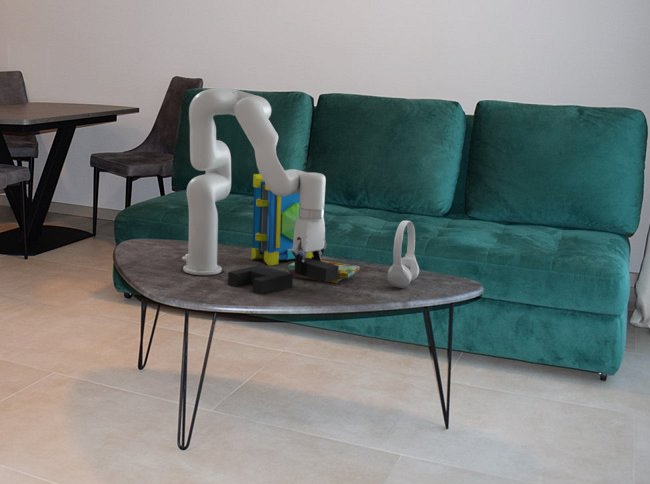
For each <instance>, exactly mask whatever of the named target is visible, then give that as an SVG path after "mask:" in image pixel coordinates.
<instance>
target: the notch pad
mask: <svg viewBox="0 0 650 484" xmlns="http://www.w3.org/2000/svg"><path fill="white" fill-rule="evenodd" d="M227 276H228V277H227V285H229V286H233V287H235V288H237V287H240V286H244V285H249V284H251V285H252V292H253V293H255V294H259V295H263V294H268V293H271V292H276V291H279V290H280V291H281V290H283V289H288V288H292V287H293V285H294V277H293V274H292V273H290V272H289V271H284V270H280V269H278V268H277V269H276V268H273V267H269V266H264V265H262V264H258V265H252V266H248V267H244V268H239V269H234V270H230V271H228V273H227Z"/></svg>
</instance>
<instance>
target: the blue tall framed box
mask: <svg viewBox="0 0 650 484" xmlns="http://www.w3.org/2000/svg"><path fill="white" fill-rule="evenodd" d="M252 175H253V177H252V188H253V208H252V209H253V211H252V212H253V213H252V224H253V225H252V247H251V254H250V255H251V257H250V260H251V261H253V260H262V259H263V262H265V263H266V264H267V267H269V266H276V265H279V263H280V262H279V261H282V260H285V261H288V260H289V261H290V260H294V259H296V258H295V257H294V255H293V253H292V252H291V250H292V248H293V238H294V230H295V225H296V221H297V218H299V198H300V193H296V194H291V195H288V196H284V197H280V196H277V195H275V194H273V193H272V192H271V191H270V189H269V188H268V187H267V185H266V183H265V182H264V180H263V178H262V176H261V174H260V173H253V174H252ZM302 250H303V249H302ZM302 250H301V251H302ZM302 255H303V253H301V256H302ZM312 257H313V254H312V252H308V253H307V255H306V258H312Z"/></svg>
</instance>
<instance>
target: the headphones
mask: <svg viewBox="0 0 650 484" xmlns="http://www.w3.org/2000/svg"><path fill="white" fill-rule="evenodd" d="M405 229H406V230H407V246H406V253H405V254H404V256H403V257H402V247H403V240H404V239H403V238H404V233H405ZM415 248H416V230H415V226H414V223H413V222H412V221H411V220H402V221H401V222H400V223H399V224H398V226H397V229H396V231H395V236H394V241H393V253H392V254H393V255H392V257H393V258H392V259H393V262H392V264H391V266H390V267H389V268H388V270H387V274H386V280H387V281H388V283H389V284H390V285H391V286H393V287H395V288H398V289H404V288H407V287H408V286H409V285H410V283H411V282H413V281H414V280H416V279H417V278H418V276H419V275H420V267H419V264H418V261H417V260H416V255H415Z"/></svg>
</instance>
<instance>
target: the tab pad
mask: <svg viewBox="0 0 650 484" xmlns="http://www.w3.org/2000/svg"><path fill="white" fill-rule="evenodd" d="M294 262H295V268H294V273H296V269H297V260H296V259H295V260H294ZM305 262H306V274H305V275H303V276H306V277H310V278H313V279H317V280H316V281H318V280H320V282H325V283H328V282H327V281H332V280H336V279H338V270H339V266H337V265H333V264H330V263H326V262H322V261H318V260H315V259H311V258H306V259H305ZM296 274H298V273H296ZM299 275H301V274H299Z"/></svg>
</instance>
